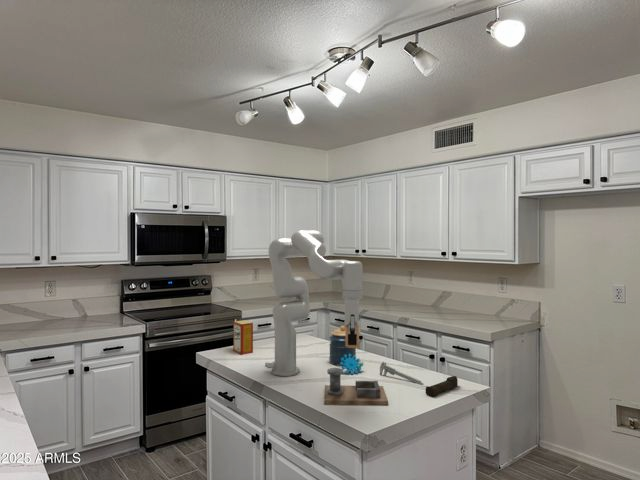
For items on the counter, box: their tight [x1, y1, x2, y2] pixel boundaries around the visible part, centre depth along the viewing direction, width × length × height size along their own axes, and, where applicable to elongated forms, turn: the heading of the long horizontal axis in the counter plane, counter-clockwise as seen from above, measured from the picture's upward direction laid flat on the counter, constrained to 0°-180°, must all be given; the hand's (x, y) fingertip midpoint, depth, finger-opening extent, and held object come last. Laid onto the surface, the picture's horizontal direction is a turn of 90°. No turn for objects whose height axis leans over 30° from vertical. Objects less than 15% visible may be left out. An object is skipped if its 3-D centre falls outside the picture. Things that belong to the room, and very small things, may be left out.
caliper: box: [379, 361, 424, 386], centre depth 187 cm, size 20×1×6 cm, turn 52°
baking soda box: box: [232, 319, 254, 356], centre depth 231 cm, size 10×6×16 cm
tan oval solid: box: [345, 324, 360, 349], centre depth 164 cm, size 5×5×8 cm
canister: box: [328, 325, 357, 366], centre depth 213 cm, size 13×13×18 cm
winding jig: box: [323, 367, 389, 406], centre depth 167 cm, size 23×16×10 cm
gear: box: [339, 354, 365, 375], centre depth 198 cm, size 11×6×10 cm
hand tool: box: [425, 375, 459, 398], centre depth 173 cm, size 19×4×5 cm, turn 128°
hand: (352, 342), depth 164 cm, fingers closed on tan oval solid, 4 cm apart
